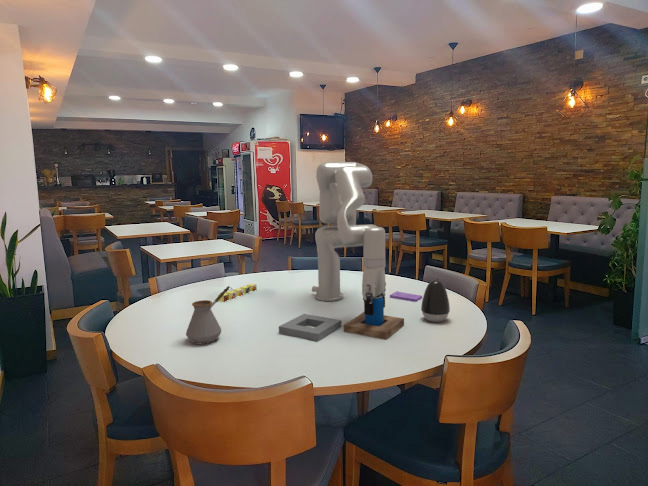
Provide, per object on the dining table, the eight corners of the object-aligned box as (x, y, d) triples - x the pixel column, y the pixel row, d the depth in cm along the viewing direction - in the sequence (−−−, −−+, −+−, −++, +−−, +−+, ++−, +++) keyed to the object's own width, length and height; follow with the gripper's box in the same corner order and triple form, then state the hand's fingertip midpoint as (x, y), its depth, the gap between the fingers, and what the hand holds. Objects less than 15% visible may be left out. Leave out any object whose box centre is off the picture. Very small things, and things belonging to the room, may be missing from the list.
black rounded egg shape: (450, 316, 171) (451, 277, 169) (448, 325, 161) (449, 284, 159) (422, 314, 174) (423, 275, 172) (419, 322, 165) (420, 282, 162)
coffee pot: (206, 348, 144) (204, 303, 142) (178, 343, 149) (175, 299, 147) (245, 327, 163) (243, 287, 161) (219, 323, 168) (217, 284, 166)
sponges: (396, 295, 204) (396, 291, 204) (422, 299, 197) (422, 295, 196) (389, 298, 198) (389, 294, 198) (416, 303, 191) (416, 298, 191)
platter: (191, 301, 200) (190, 293, 200) (238, 285, 228) (238, 278, 227) (247, 310, 185) (247, 302, 184) (291, 292, 212) (291, 285, 211)
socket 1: (278, 333, 157) (278, 326, 156) (304, 320, 170) (304, 313, 170) (318, 341, 148) (318, 334, 148) (341, 326, 162) (341, 320, 162)
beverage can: (382, 332, 156) (382, 298, 154) (364, 331, 157) (364, 297, 155) (384, 325, 162) (384, 293, 160) (366, 324, 164) (366, 292, 162)
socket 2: (343, 331, 157) (343, 324, 157) (363, 318, 171) (363, 312, 170) (386, 339, 149) (386, 332, 149) (404, 325, 162) (404, 318, 162)
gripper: (374, 258, 165) (375, 303, 168) (353, 266, 151) (354, 316, 153) (394, 259, 161) (394, 306, 164) (373, 268, 147) (374, 319, 149)
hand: (374, 310), depth 158 cm, fingers open, 9 cm apart
